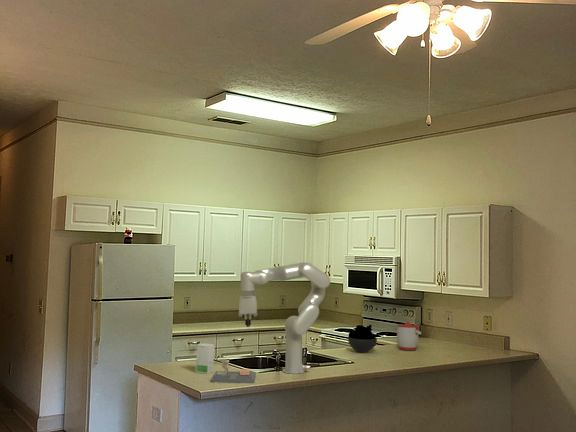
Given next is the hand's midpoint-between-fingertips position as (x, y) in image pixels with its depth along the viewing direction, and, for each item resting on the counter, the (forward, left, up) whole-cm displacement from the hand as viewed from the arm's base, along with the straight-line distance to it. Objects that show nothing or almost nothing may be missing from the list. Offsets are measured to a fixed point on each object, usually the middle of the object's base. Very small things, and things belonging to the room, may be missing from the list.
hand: (248, 326), depth 343 cm
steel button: (+12, +19, -24) cm, 33 cm away
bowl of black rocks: (-74, -78, -26) cm, 111 cm away
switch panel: (+6, +14, -26) cm, 30 cm away
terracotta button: (0, +19, -22) cm, 29 cm away
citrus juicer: (-109, -93, -27) cm, 146 cm away
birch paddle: (+11, +8, -24) cm, 28 cm away
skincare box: (+24, -2, -26) cm, 36 cm away
